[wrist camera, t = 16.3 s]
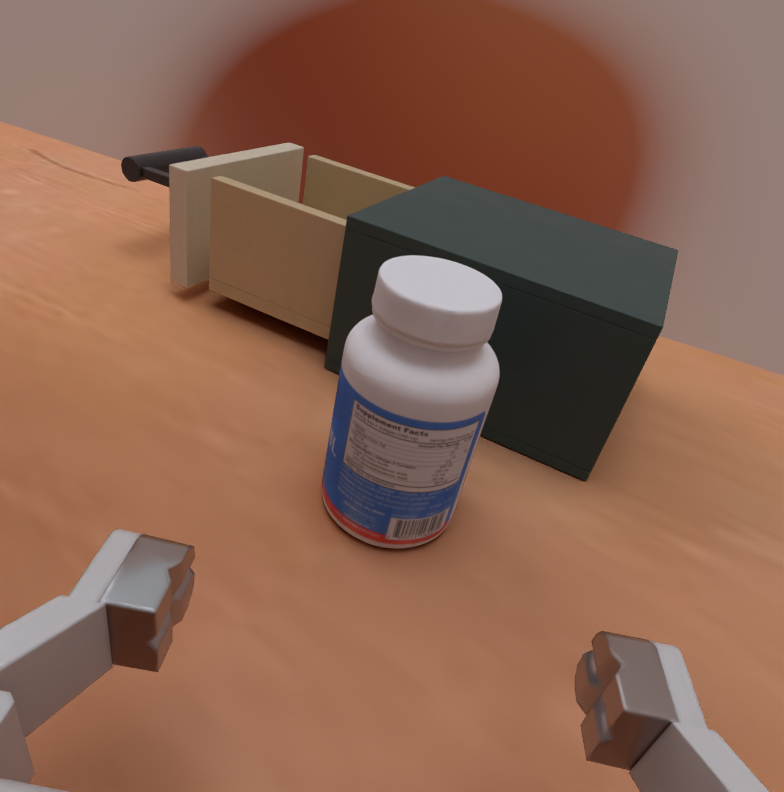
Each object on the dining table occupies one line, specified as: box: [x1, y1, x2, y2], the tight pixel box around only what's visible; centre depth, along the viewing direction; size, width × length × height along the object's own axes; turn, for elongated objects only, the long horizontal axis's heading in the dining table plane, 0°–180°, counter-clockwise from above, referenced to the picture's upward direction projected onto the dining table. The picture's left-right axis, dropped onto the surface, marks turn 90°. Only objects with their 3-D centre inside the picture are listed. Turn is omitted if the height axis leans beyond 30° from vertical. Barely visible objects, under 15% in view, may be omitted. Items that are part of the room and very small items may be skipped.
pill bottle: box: [322, 255, 502, 548], centre depth 22 cm, size 6×5×10 cm
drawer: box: [121, 143, 415, 339], centre depth 36 cm, size 19×11×7 cm, turn 64°
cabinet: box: [325, 176, 678, 481], centre depth 32 cm, size 14×12×8 cm
